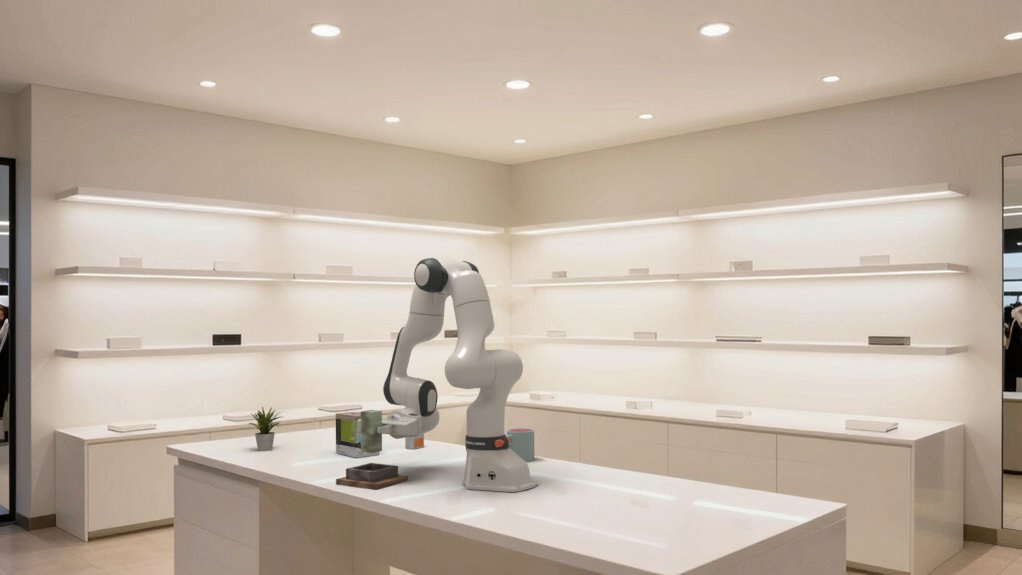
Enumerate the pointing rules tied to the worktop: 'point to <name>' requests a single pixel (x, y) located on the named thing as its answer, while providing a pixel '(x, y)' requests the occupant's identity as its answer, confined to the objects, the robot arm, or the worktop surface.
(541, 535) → the worktop surface
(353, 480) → the display stand
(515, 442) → the mug
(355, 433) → the tea box
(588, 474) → the worktop surface
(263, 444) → the house plant
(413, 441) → the skincare box
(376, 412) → the green peg
